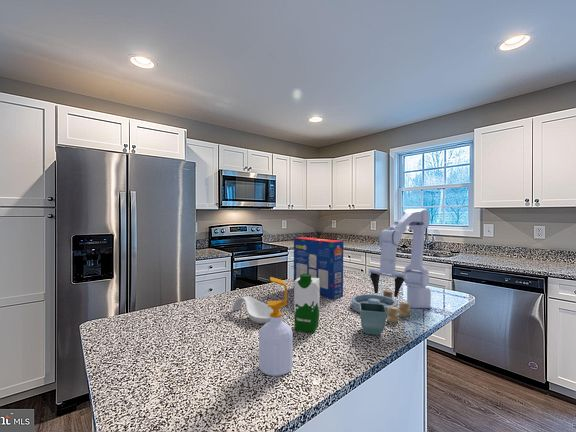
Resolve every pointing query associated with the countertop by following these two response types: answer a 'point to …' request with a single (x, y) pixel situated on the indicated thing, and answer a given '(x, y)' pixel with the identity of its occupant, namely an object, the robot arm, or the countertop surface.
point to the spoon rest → (254, 309)
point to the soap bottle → (276, 340)
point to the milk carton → (306, 303)
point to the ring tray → (372, 301)
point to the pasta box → (320, 264)
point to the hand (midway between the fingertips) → (385, 294)
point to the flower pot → (373, 318)
